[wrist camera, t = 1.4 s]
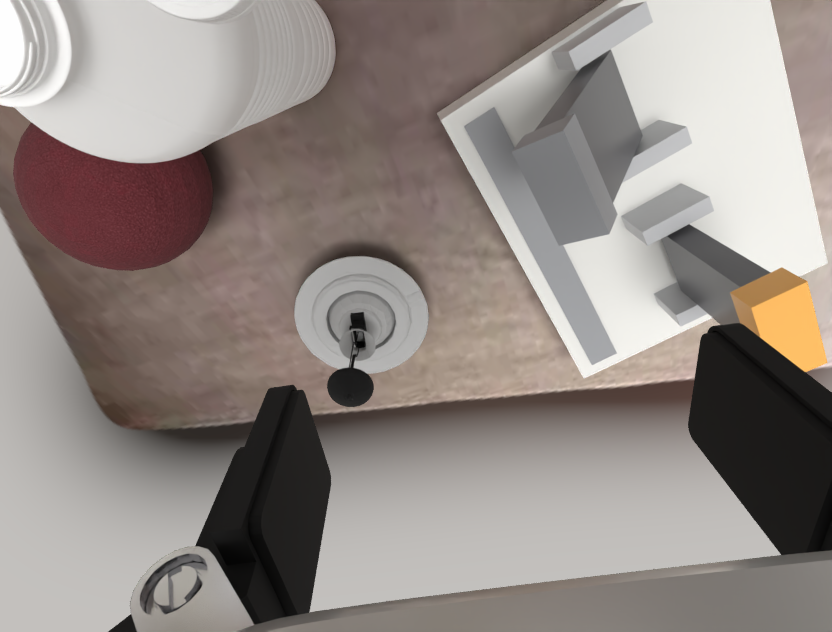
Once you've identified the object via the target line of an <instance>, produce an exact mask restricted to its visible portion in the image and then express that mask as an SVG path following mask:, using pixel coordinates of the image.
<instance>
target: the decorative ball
mask: <svg viewBox="0 0 832 632" xmlns="http://www.w3.org/2000/svg"><path fill="white" fill-rule="evenodd" d="M13 175H14V182H15V189H16V191H17V194H18V197H19V200H20V203H21V205H22V207H23V209H24V210H25V212H26V214H27V216H28V218H29V219H30V221H31V222H32V223H33V225H34V226H35V227H36V228H37V230H38V231H39V232H40V233H41V234H42V235H43V236H44V237H45V238H46V239H47V240H48V241H50V242H51V243H52V244H53V245H55V246H56V247H58V248H59V249H60V250H62V251H63V252H64V253H66V254H68V255H70V256H72V257H74V258H75V259H77V260H79V261H82V262H85V263H88V264H90V265H93V266H97V267H103V268H108V269H114V270H131V271H133V270H139V269H146V268H151V267H156V266H159V265H162V264H164V263H167V262H169V261H171V260H173V259H175V258H176V257H178V256H179V255H181V254H182V253H184V252H185V251H187V250H188V249H189V248H190V247H191V246H192V245H193V244H194V243H195V242H196V240H197V239H198V238H199V237H200V235H201V234H202V232H203V230H204V228H205V227H206V225H207V223H208V221H209V217H210V213H211V209H212V201H213V186H212V180H211V174H210V171H209V168H208V166H207V163H206V160H205V158H204V156H203V155H202V153H201V151H200V150H198V151H196V152H194V153H191V154H189V155H186V156H184V157H181V158H177V159H174V160H170V161H164V162H157V163H128V162H120V161H114V160H109V159H105V158H101V157H97V156H94V155H91V154H88V153H85V152H83V151H80V150H78V149H75V148H73V147H71V146H69V145H67V144H65V143H63V142H61V141H59V140H57V139H56V138H54V137H52V136H51V135H49V134H47V133H46V132H44V131H43V130H41V129H40V128H39V127H37V126H36V125H35V124H33V123H31V124H30V125H29V126H28V128H27V129H26V131H25V132H24V134H23V135H22V137H21V139H20V142H19V145H18V148H17V152H16V155H15V158H14V170H13Z"/></svg>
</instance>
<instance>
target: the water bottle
mask: <svg viewBox="0 0 832 632" xmlns="http://www.w3.org/2000/svg"><path fill="white" fill-rule="evenodd" d="M335 55H336V50H335V39H334V34H333V31H332V27H331V25H330V22H329V20H328V18H327V16H326V14H325V13H324V11H323V10H322V8H321V7H320V6H319V4H318V3H317V2H316V1H315V0H0V105H4V106H9V107H14V108H15V109H17V110H18V111H19V112H20V113H21V114H22V115H23V116H25V117H26V118H27V119H28V120H29V121H31V122H32V123H33V124H35V125H36V126H37V127H39V128H40V129H41V130H43V131H44V132H46V133H47V134H49V135H51V136H52V137H54V138H56V139H57V140H59V141H61V142H63V143H65V144H67V145H69V146H71V147H73V148H75V149H78V150H80V151H83V152H85V153H88V154H91V155H94V156H97V157H101V158H105V159H109V160H114V161H120V162H128V163H157V162H164V161H170V160H174V159H177V158H181V157H184V156H186V155H189V154H191V153H194V152H196V151H198V150H200V149H202V148H204V147H206V146H208V145H209V144H211V143H212V142H215V141H217V140H219V139H221V138H224V137H226V136H228V135H230V134H232V133H234V132H237V131H239V130H241V129H243V128H246V127H248V126H250V125H252V124H255V123H258V122H261V121H263V120H265V119H267V118H269V117H271V116H274V115H276V114H278V113H280V112H282V111H284V110H287V109H289V108H291V107H293V106H295V105H298V104H300V103H302V102H305V101H307V100H309V99H311V98H312V97H314V96H315V95H316V94H318V93H319V92H320V91H321V90H322V89H323V87H324V86H325V85H326V83H327V81H328V80H329V78H330V76H331V74H332V71H333V67H334V63H335Z"/></svg>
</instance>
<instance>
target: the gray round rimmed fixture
mask: <svg viewBox="0 0 832 632" xmlns="http://www.w3.org/2000/svg"><path fill="white" fill-rule="evenodd" d="M294 314H295V323H296V327H297V330H298V333H299V335H300V337H301V339H302V341H303V342H304V344H305V345H306V346H307V347H308V349H309V350H310V351H311V353H312V354H314V355H315V356H316V357H318V358H319V359H320V360H322V361H323V362H325V363H326V364H328V365H329V366H332V367H335V368H337V369H339V370H337V371H336V372H334V373H333V374H332V375H331V376H330V378H329V380H328V384H327V388H328V392H329V395H330V397H331V398H332V399H333V400H334V401H335V402H336V403H338V404H340V405H343V406H346V407H356V406H360V405H362V404H364V403H365V402H367V401H368V400H369V399H370V397H371V396H372V393H373V390H374V385H373V381H372V379H371V378H370V376H369V375H368V374H367V373H378V372H384V371H386V370H389V369H391V368H394V367H396V366H398V365H400V364H402V363H403V362H404V361H406V360H407V359H409V358H410V357H411V356H412V355H413V354H414V353H415V351H416V350H417V349H418V348H419V347H420V345H421V343H422V341H423V339H424V338H425V335H426V332H427V328H428V319H429V314H428V307H427V302H426V300H425V298H424V295H423V293H422V291H421V289H420V288H419V286H418V284H417V283H416V282H415V281H414V279H413V278H412V277H411V276H410V275H408V274H407V273H406V272H405V271H404V270H402V269H401V268H399V267H397V266H396V265H394V264H392V263H390V262H388V261H385V260H382V259H379V258H374V257H369V256H348V257H344V258H339V259H335V260H333V261H330V262H328V263H326V264H324V265H322V266H321V267H319V268H318V269H316V270H315V271H314V272H313V273H312V274H311V275H310V276H309V277H308V278H307V279H306V280H305V282H304V283H303V285H302V286H301V288H300V290H299V293H298V295H297V297H296V302H295V309H294Z"/></svg>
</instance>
